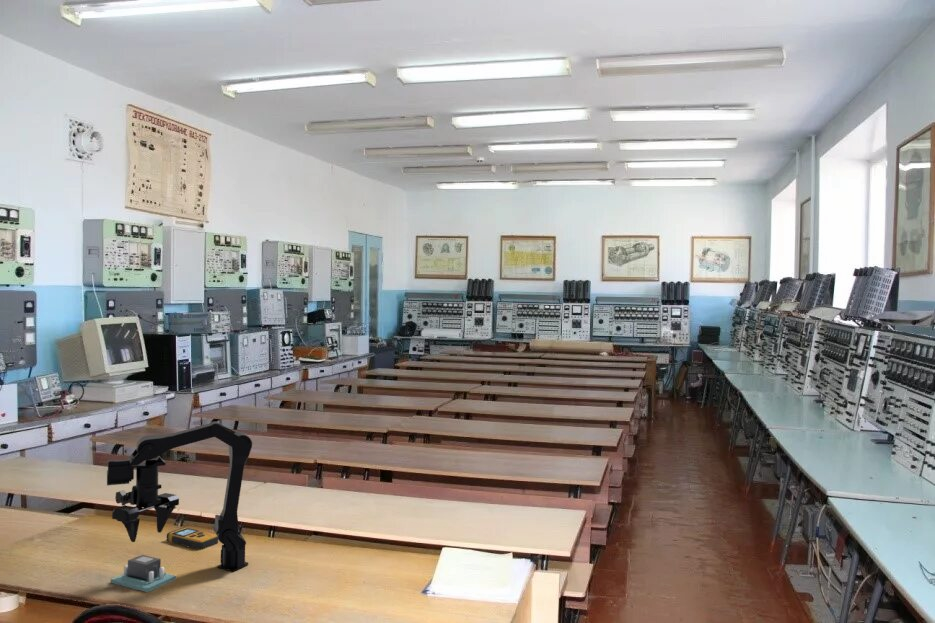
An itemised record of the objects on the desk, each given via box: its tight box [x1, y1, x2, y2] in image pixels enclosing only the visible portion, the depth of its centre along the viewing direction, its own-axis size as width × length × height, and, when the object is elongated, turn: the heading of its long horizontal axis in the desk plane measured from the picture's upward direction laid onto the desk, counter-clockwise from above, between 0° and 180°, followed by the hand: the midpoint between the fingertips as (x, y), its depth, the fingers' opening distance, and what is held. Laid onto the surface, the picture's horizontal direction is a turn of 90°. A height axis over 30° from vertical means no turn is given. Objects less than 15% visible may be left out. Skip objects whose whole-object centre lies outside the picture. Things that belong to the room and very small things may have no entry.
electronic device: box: [166, 526, 219, 550], centre depth 236 cm, size 8×16×3 cm, turn 62°
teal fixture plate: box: [110, 564, 177, 593], centre depth 203 cm, size 14×10×4 cm
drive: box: [127, 554, 162, 583], centre depth 203 cm, size 7×5×5 cm
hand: (146, 536), depth 205 cm, fingers open, 9 cm apart
